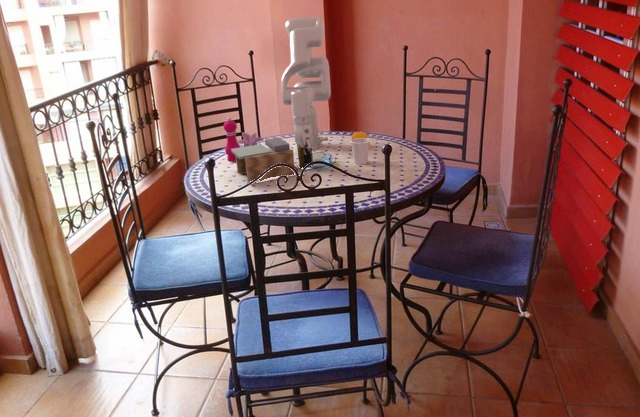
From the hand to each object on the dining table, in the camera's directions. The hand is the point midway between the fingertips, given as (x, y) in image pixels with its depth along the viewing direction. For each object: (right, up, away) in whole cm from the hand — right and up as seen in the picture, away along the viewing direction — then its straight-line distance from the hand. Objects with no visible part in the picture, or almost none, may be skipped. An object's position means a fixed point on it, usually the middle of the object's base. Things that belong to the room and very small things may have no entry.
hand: (304, 160), depth 236 cm
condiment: (+1, -3, 0) cm, 3 cm away
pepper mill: (-34, +2, +19) cm, 39 cm away
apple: (+26, +9, +26) cm, 37 cm away
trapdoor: (-18, +2, -9) cm, 20 cm away
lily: (-27, +8, +33) cm, 43 cm away
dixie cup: (+24, -1, +2) cm, 25 cm away
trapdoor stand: (-16, -6, -5) cm, 18 cm away
